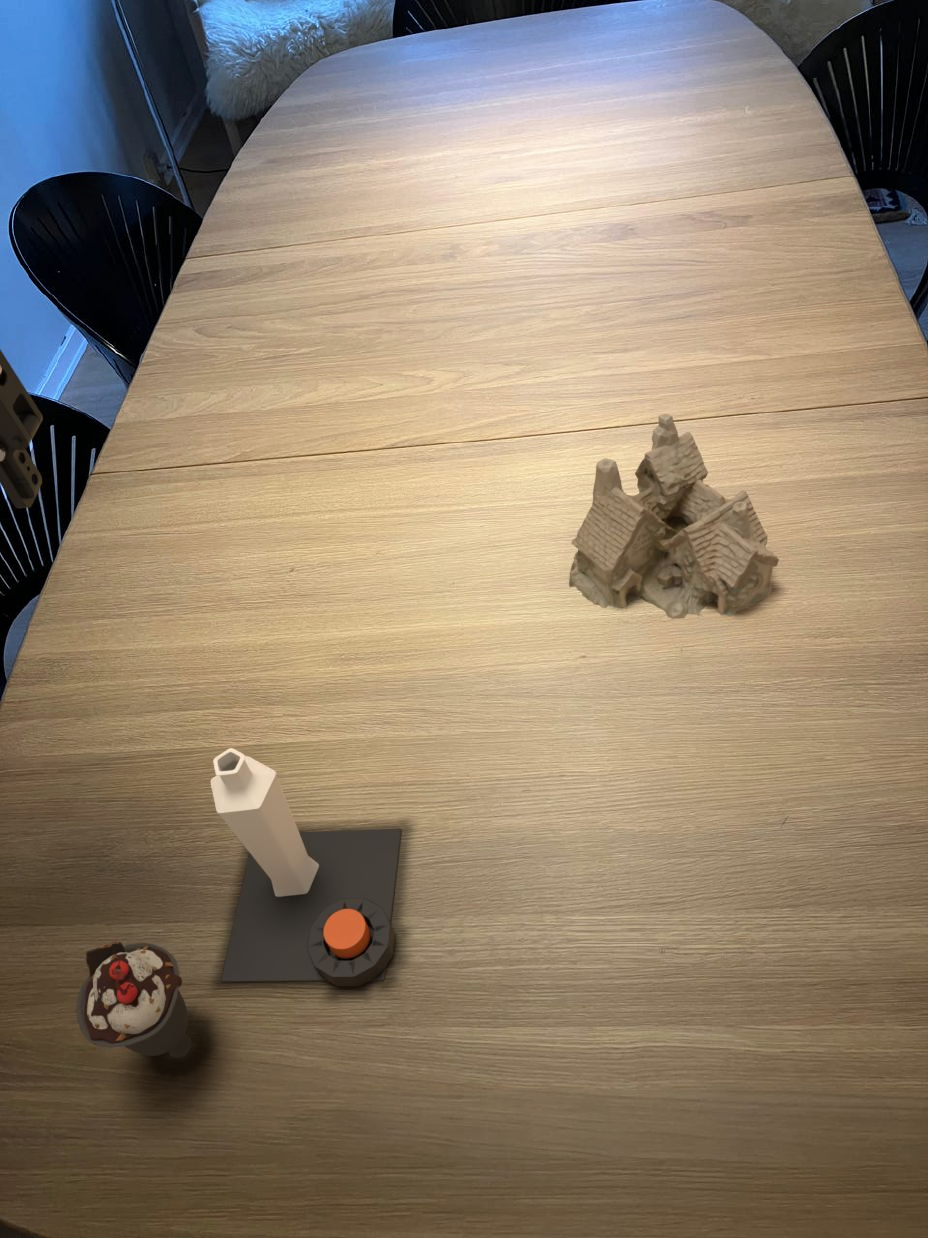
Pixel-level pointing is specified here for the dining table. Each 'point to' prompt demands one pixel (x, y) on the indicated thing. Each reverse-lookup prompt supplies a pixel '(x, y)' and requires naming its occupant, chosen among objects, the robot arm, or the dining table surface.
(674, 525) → the ceramic cottage
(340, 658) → the dining table surface
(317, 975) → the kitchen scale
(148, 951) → the sundae
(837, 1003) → the dining table surface
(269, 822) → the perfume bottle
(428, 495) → the dining table surface
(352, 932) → the button
